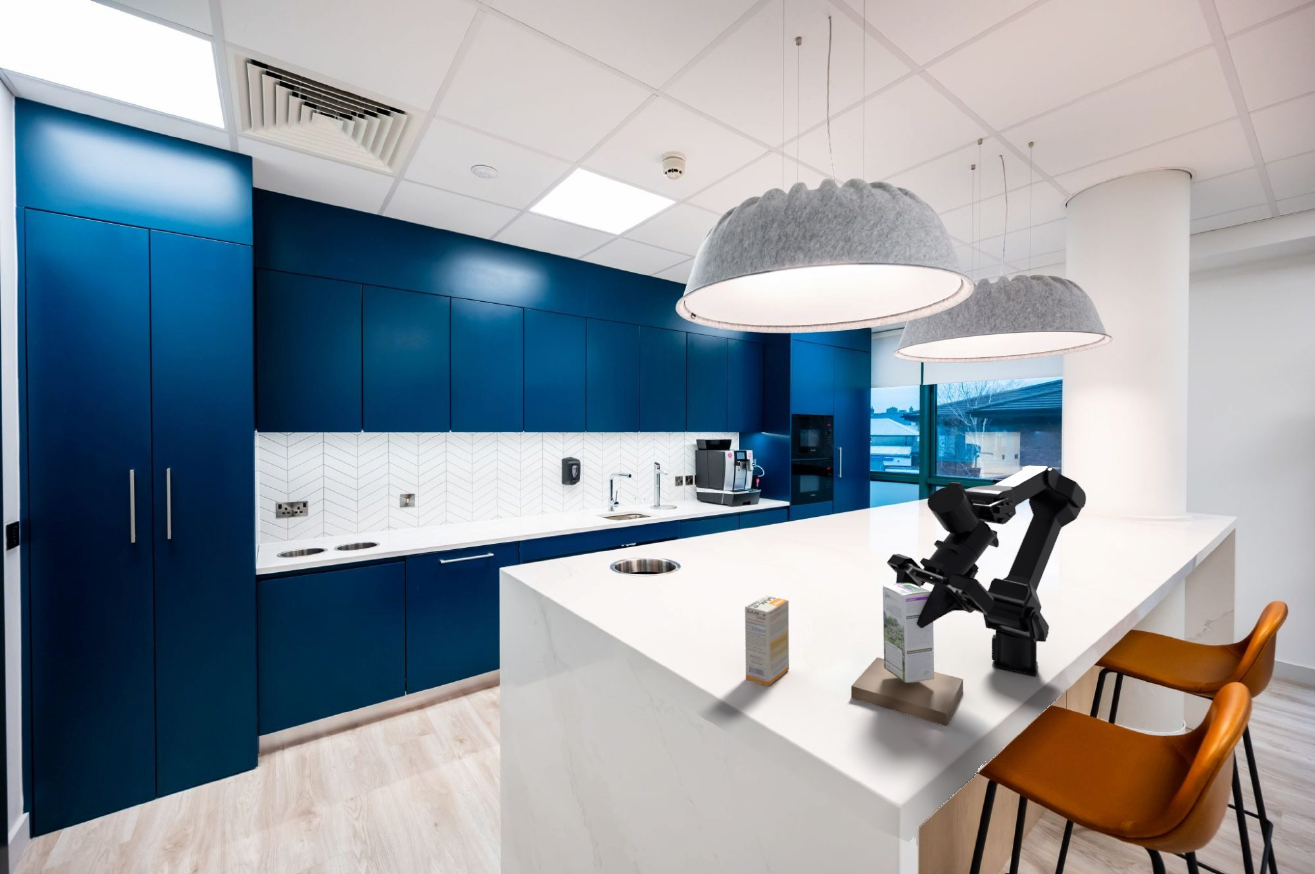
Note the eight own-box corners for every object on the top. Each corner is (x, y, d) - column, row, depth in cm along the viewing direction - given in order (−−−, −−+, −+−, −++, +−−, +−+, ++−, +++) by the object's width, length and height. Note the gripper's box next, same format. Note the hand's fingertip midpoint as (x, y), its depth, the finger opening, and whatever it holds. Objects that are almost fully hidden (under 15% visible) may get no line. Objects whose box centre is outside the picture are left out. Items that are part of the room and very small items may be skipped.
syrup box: (936, 679, 88) (935, 591, 87) (904, 684, 86) (903, 593, 86) (912, 664, 93) (911, 581, 93) (881, 668, 92) (881, 584, 92)
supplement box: (766, 663, 102) (766, 594, 101) (789, 670, 99) (789, 599, 98) (743, 679, 95) (743, 605, 95) (768, 687, 92) (768, 610, 92)
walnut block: (963, 693, 91) (963, 678, 91) (946, 730, 80) (946, 713, 80) (876, 670, 99) (876, 657, 99) (851, 700, 88) (851, 685, 88)
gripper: (1038, 595, 84) (980, 674, 82) (947, 566, 103) (898, 630, 100) (997, 548, 82) (936, 628, 80) (911, 527, 101) (860, 591, 98)
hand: (906, 619), depth 90 cm, fingers closed on syrup box, 6 cm apart
